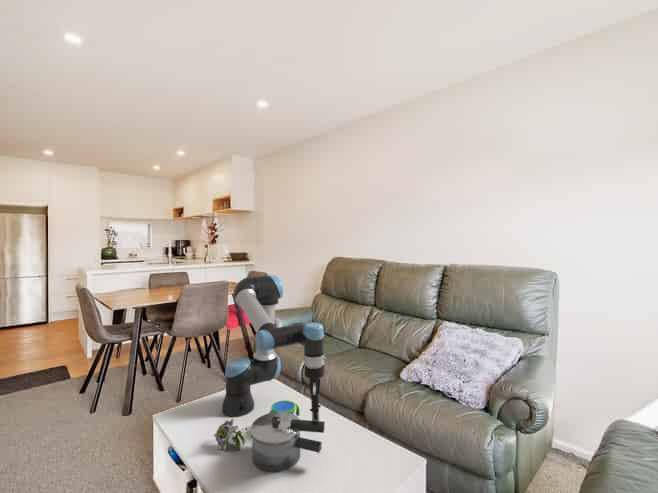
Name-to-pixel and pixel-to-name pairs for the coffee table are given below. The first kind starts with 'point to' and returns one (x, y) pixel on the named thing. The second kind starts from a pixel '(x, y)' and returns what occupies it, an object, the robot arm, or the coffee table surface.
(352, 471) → the coffee table surface
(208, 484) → the coffee table surface
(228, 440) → the passion flower
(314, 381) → the robot arm
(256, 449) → the cooker pot
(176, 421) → the coffee table surface
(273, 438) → the cooker lid
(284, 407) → the snack cup
